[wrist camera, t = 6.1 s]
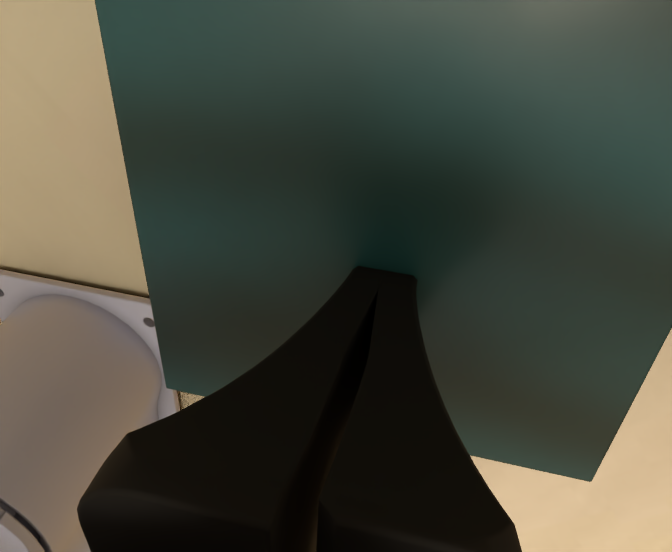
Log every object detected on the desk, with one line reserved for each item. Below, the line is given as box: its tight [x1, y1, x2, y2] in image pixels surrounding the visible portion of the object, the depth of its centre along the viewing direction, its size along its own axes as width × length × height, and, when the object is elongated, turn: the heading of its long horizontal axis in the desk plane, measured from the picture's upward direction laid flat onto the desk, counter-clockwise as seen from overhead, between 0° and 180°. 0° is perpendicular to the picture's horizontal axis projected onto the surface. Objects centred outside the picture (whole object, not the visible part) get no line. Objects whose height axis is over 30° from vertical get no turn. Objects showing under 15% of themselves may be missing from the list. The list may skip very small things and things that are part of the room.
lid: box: [95, 0, 672, 482], centre depth 12 cm, size 14×12×1 cm
